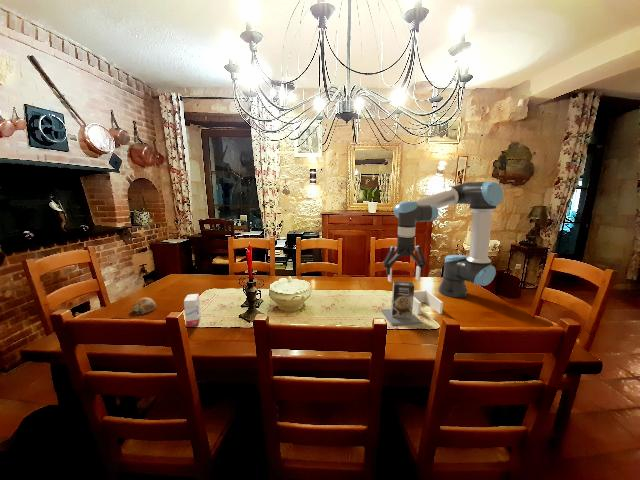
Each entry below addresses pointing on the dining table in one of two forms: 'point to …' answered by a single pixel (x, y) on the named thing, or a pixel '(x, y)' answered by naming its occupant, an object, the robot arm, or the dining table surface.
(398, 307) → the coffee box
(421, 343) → the dining table surface
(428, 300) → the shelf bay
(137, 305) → the grey brown rock
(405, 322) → the slate pad
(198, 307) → the ink box
